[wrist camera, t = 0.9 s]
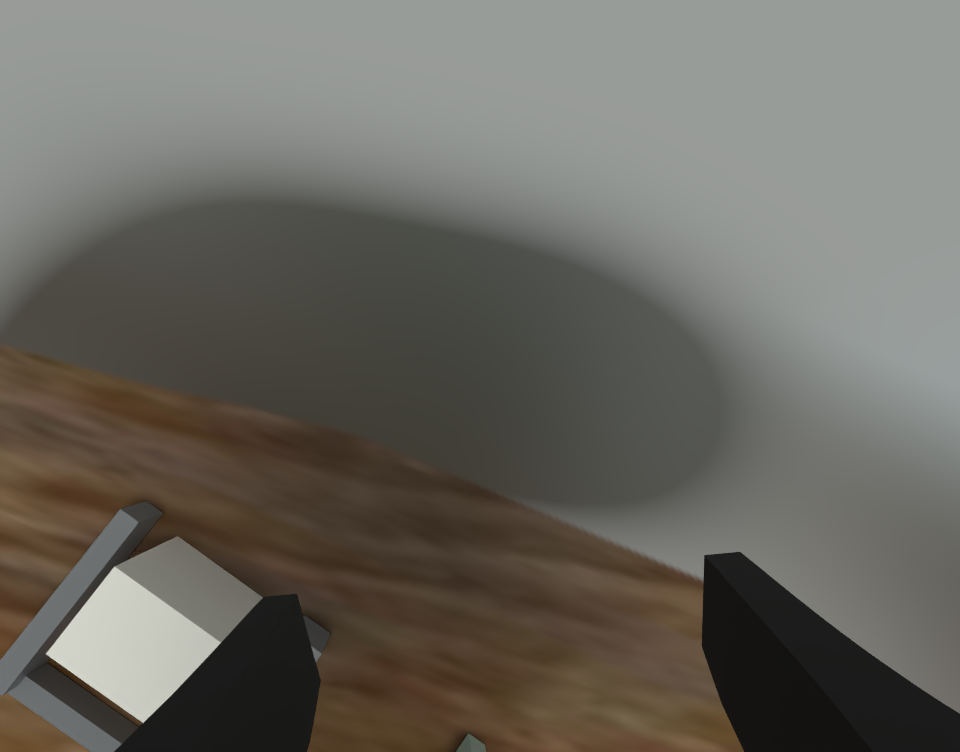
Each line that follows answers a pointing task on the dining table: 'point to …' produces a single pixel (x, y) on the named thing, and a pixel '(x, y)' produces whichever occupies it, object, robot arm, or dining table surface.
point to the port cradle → (27, 658)
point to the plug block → (152, 625)
